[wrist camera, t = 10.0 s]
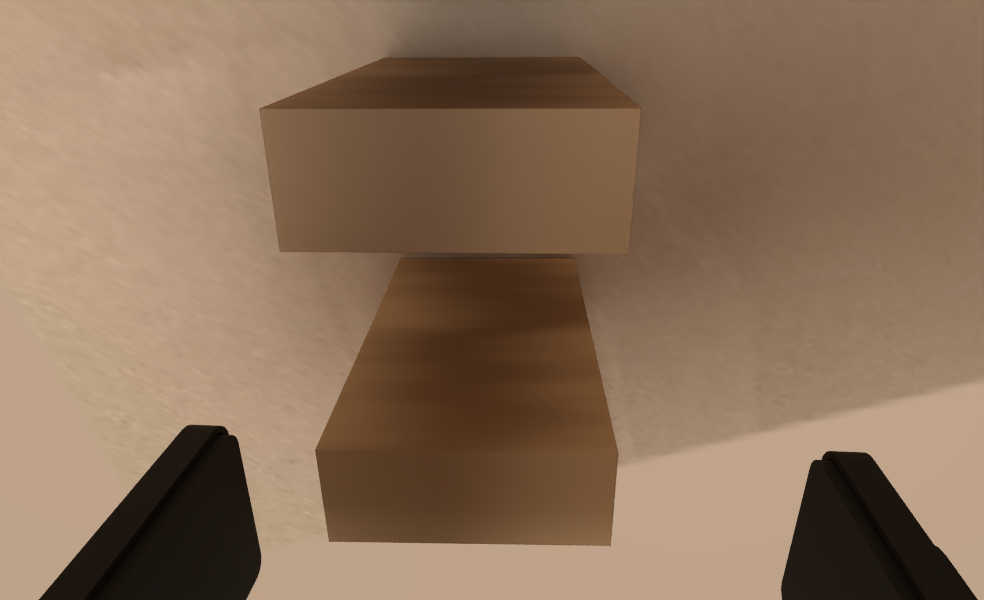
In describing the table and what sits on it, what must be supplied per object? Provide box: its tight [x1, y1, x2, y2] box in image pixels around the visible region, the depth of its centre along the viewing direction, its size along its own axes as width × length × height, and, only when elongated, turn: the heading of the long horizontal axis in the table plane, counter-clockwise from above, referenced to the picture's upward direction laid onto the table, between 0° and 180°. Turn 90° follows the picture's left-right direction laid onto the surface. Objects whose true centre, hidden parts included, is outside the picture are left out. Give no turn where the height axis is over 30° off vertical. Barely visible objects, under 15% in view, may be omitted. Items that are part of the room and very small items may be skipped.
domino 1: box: [259, 57, 641, 254], centre depth 13 cm, size 5×2×9 cm, turn 90°
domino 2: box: [315, 258, 618, 546], centre depth 15 cm, size 5×2×9 cm, turn 91°
